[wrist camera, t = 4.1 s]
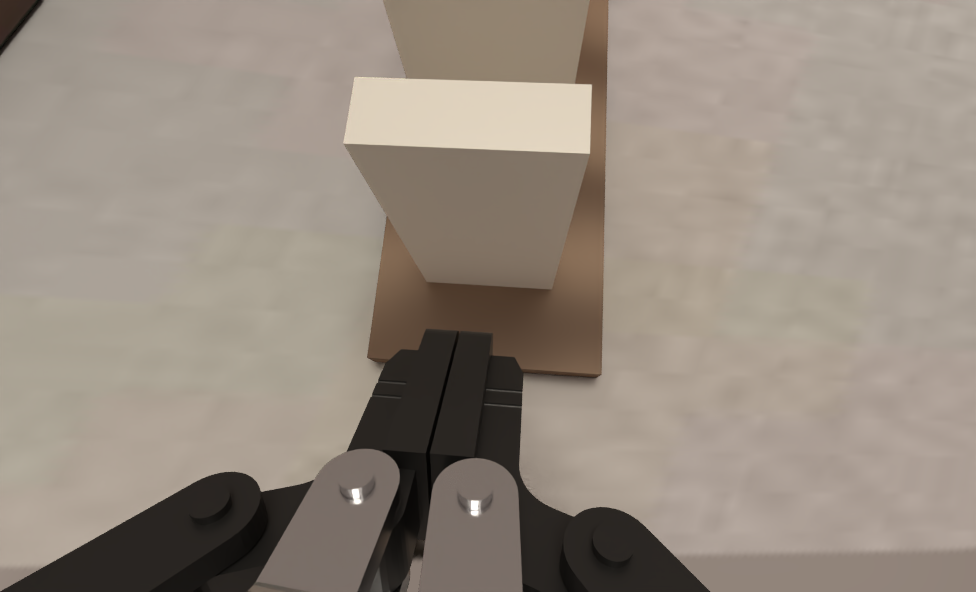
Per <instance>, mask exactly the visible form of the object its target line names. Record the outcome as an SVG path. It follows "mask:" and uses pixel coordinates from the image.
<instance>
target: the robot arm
mask: <svg viewBox="0 0 976 592" xmlns="http://www.w3.org/2000/svg"><path fill="white" fill-rule="evenodd" d="M522 389H523V371H522V370H521V368H520V366H519V364H518V362H517V361H516V359H515V357H508V356H494V355H493V333H487V332H472V331H460V334H459V331H455V330H441V329H426V330H425V332H424V335H423V338H422V341H421V343H420V346H419V349H418V350H408V349H401V350H400V351H398V352H397V353H396V354H395V355H394V356H393V357H392V358H391V359H389V360H388V361H387V362H386V363H385V366H384V368H383V370H382V372H381V375H380V377H379V379H378V383H377V384H376V386H375V388H374V391H373V393H372V397H371V398H370V400H369V402H368V404H367V407H366V409H365V411H364V414H363V416H362V418H361V420H360V423H359V425H358V427H357V429H356V432H355V434H354V436H353V439H352V441H351V443H350V445H349V448H348V450H347V452H345V453H343V454H341V455H339V456H337V457H335V458H334V459H332V460H331V461H329V462H328V463H327V464H326V465H325V466H324V467H323V468H322V469H321V470H320V472H319V473H318V475H317V476H316V478H315V480H313V481H310V482H307V483H304V484H300V485H296V486H290V487H285V488H280V489H275V490H269V491H264V492H261V491H260V488H259V486H258V484H257V482H256V481H255V480H254V479H253V478H252V477H250V476H248V475H246V474H243V473H238V472H224V473H218V474H214V475H211V476H208V477H205V478H203V479H201V480H199V481H197V482H195V483H193V484H191V485H189V486H188V487H186V488H184V489H182V490H180V491H179V492H177V493H175V494H173V495H172V496H170V497H168V498H166V499H164V500H163V501H161V502H159V503H157V504H155V505H154V506H152V507H150V508H148V509H147V510H145V511H143V512H141V513H139V514H138V515H136V516H134V517H132V518H131V519H129V520H127V521H125V522H123V523H122V524H120V525H118V526H116V527H114V528H113V529H111V530H109V531H107V532H106V533H104V534H102V535H100V536H98V537H97V538H95V539H93V540H91V541H90V542H88V543H86V544H84V545H82V546H81V547H79V548H77V549H75V550H73V551H72V552H70V553H68V554H66V555H65V556H63V557H61V558H59V559H57V560H56V561H54V562H52V563H50V564H49V565H47V566H45V567H43V568H41V569H40V570H38V571H36V572H34V573H32V574H31V575H29V576H27V577H25V578H24V579H22V580H20V581H18V582H17V583H15V584H13V585H11V586H10V587H8V588H6V589H4V590H2V591H0V592H407V588H408V585H409V580H410V566H411V563H412V558H413V554H414V550H415V545H416V541H417V539H418V540H425V547H424V554H423V562H422V570H421V576H420V584H419V591H418V592H710V591H709V590H708V589H707V588H706V587H705V586H704V585H703V584H702V583H701V582H700V581H699V580H698V579H697V578H696V577H695V576H694V575H693V574H692V573H691V572H690V571H689V570H688V569H687V568H686V567H685V566H684V565H683V564H682V563H681V562H680V561H679V560H678V559H677V558H676V557H675V556H674V555H673V554H672V553H671V552H670V551H669V550H668V549H667V548H666V547H665V546H664V545H663V544H662V543H661V542H660V541H659V540H658V539H657V538H656V537H655V536H654V535H653V534H652V533H651V532H650V531H649V530H648V529H647V528H646V527H645V526H644V525H643V524H642V523H640V522H639V521H638V520H637V519H635V518H634V517H632V516H631V515H629V514H627V513H625V512H622V511H619V510H617V509H612V508H607V507H597V508H591V509H587V510H584V511H582V512H580V513H579V514H577V515H576V516H575V517H573V516H570V515H568V514H565V513H563V512H560V511H558V510H555V509H553V508H551V507H549V506H547V505H545V504H543V503H542V502H540V501H539V500H538V499H536V498H535V497H534V496H533V495H532V494H531V493H530V492H529V491H528V489H527V488H526V486H525V485H524V483H523V481H522V479H521V476H520V471H519V455H520V433H521V411H522Z"/></svg>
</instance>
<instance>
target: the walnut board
mask: <svg viewBox="0 0 976 592" xmlns="http://www.w3.org/2000/svg"><path fill="white" fill-rule="evenodd" d="M607 45H608V0H590V2H589V7H588V13H587V18H586V24H585V29H584V35H583V40H582V46H581V52H580V57H579V63H578V68H577V74H576V79H575V84H591V85H592V97H591V133H590V155H589V159H588V162H587V166H586V169H585V173H584V177H583V180H582V184H581V187H580V191H579V194H578V198H577V201H576V205H575V208H574V212H573V216H572V219H571V223H570V226H569V230H568V233H567V237H566V240H565V244H564V248H563V251H562V255H561V258H560V262H559V265H558V269H557V272H556V276H555V279H554V283H553V287H552V289H535V288H518V287H502V286H485V285H469V284H452V283H436V282H427V281H426V280H425V278H424V276H423V275H422V273H421V271H420V270H419V268H418V266H417V265H416V263H415V262H414V260H413V258H412V257H411V255H410V253H409V252H408V250H407V248H406V247H405V245H404V243H403V242H402V240H401V238H400V237H399V235H398V233H397V232H396V230H395V228H394V227H393V225H392V223H391V222H390V220H389V218H388V217H387V219H386V227H385V234H384V241H383V248H382V255H381V262H380V270H379V277H378V284H377V291H376V298H375V305H374V313H373V320H372V327H371V334H370V341H369V348H368V355H367V358H369V359H371V360H373V361H375V362H387V361H388V360H389V359H391V358H392V357H393V356H394V355H395V354H396V353H397V352H398V351H400V350H401V349H408V350H418V349H419V346H420V343H421V341H422V338H423V335H424V332H425V330H426V329H441V330H455V331H459V334H460V331H472V332H487V333H493V355H494V356H508V357H515V359H516V361H517V362H518V364H519V366H520V368H521V370H522V371H523V372H527V373H540V374H554V375H568V376H582V377H598V376H600V375H601V371H602V317H603V262H604V208H605V154H606V99H607ZM406 79H407V77H406Z"/></svg>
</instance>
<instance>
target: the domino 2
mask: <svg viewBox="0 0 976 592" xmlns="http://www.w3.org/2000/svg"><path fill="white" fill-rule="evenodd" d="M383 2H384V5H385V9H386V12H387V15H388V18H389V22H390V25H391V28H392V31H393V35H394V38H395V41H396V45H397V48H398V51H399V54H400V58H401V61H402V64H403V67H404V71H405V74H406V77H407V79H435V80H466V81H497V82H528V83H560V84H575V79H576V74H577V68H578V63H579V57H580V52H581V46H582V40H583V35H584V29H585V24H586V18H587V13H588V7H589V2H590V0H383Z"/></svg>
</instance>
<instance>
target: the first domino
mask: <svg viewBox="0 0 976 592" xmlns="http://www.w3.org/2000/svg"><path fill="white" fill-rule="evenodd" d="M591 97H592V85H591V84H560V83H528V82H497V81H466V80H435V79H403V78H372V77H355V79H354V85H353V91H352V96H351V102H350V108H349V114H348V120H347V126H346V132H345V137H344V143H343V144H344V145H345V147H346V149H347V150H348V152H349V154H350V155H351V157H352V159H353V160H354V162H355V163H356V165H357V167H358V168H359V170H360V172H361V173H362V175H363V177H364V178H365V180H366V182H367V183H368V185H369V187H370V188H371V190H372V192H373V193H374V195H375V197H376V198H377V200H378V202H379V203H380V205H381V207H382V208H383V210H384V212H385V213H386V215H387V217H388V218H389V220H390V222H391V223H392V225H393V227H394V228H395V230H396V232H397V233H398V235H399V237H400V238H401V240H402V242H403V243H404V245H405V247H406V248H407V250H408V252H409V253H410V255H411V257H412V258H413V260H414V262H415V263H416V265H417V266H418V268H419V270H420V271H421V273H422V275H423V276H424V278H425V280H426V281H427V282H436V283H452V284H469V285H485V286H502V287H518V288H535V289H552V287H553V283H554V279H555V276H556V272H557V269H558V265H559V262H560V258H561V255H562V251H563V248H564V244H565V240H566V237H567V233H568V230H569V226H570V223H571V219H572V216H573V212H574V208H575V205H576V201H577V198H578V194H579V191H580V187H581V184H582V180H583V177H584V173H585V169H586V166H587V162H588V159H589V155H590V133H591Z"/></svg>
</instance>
